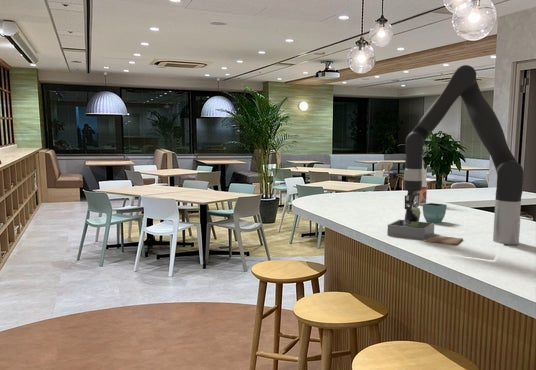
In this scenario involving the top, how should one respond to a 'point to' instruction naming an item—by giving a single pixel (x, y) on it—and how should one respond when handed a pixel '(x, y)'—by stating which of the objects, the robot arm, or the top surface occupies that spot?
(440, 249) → the top surface
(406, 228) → the bin
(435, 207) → the flower pot
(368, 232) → the top surface
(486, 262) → the top surface
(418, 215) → the beverage can
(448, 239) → the pad
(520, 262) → the top surface
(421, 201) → the fruit juice
